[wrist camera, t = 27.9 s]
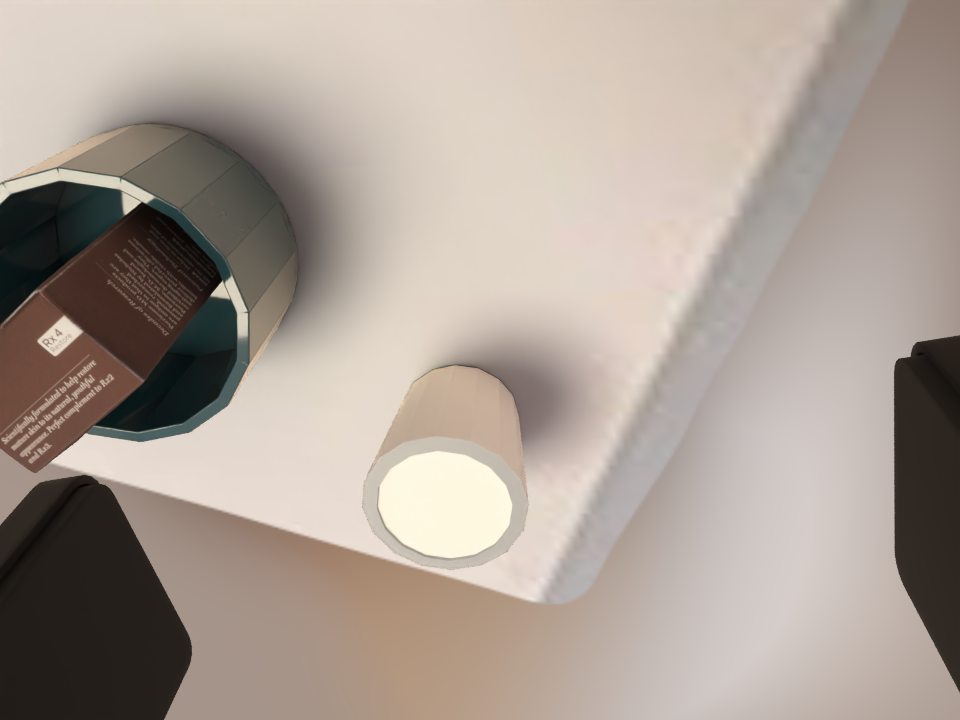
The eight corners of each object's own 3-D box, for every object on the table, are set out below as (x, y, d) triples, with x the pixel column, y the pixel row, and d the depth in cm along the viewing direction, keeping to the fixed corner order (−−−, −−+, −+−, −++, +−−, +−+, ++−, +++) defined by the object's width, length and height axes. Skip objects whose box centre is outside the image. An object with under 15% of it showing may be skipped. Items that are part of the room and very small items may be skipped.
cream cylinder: (398, 475, 42) (372, 572, 36) (380, 355, 39) (349, 439, 33) (534, 473, 42) (531, 571, 35) (528, 351, 38) (524, 435, 32)
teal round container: (6, 158, 36) (-106, 210, 30) (241, 94, 34) (173, 135, 28) (121, 377, 41) (45, 461, 34) (332, 332, 39) (292, 412, 32)
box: (173, 323, 38) (30, 481, 28) (96, 249, 37) (-86, 388, 26) (263, 246, 36) (145, 386, 26) (184, 165, 35) (25, 278, 24)
